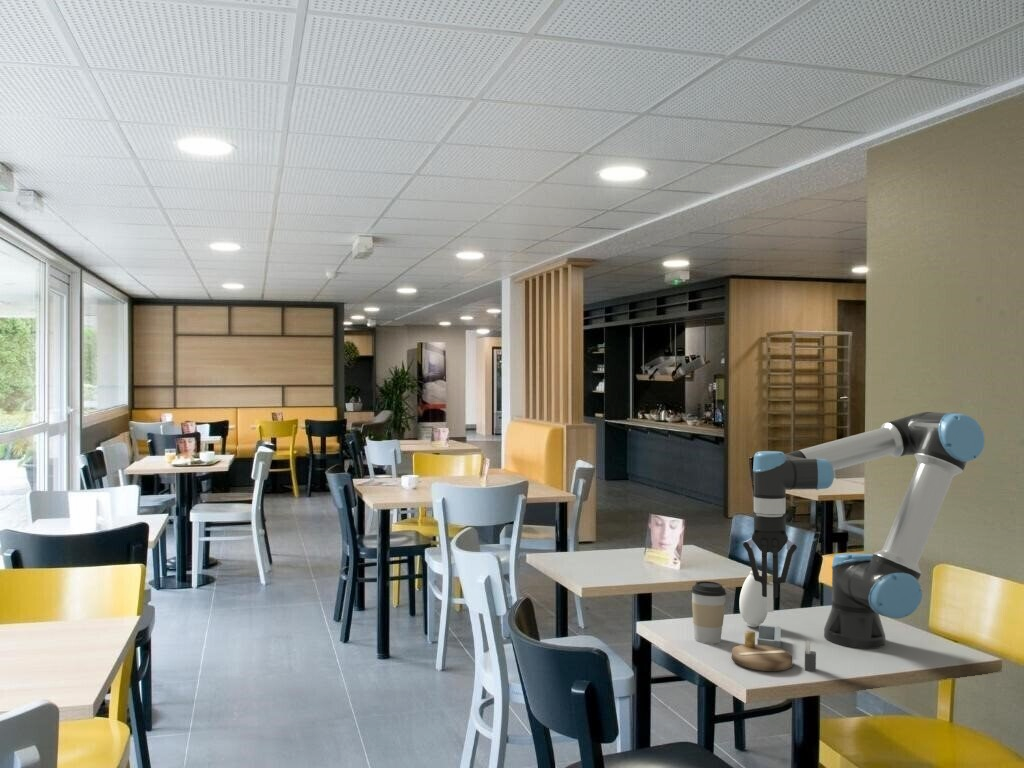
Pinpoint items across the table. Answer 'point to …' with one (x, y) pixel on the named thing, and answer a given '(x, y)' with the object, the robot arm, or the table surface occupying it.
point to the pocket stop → (769, 636)
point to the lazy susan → (760, 655)
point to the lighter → (810, 658)
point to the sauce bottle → (752, 602)
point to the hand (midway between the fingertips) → (770, 610)
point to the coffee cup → (708, 611)
